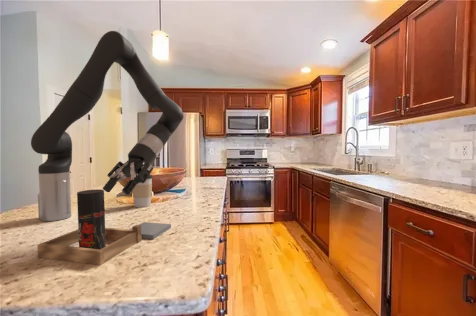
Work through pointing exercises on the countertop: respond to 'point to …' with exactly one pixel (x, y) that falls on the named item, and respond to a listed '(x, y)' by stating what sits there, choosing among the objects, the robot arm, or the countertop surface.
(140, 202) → the coffee cup
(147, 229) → the slate coaster
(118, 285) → the countertop surface
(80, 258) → the wood frame
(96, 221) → the deodorant
